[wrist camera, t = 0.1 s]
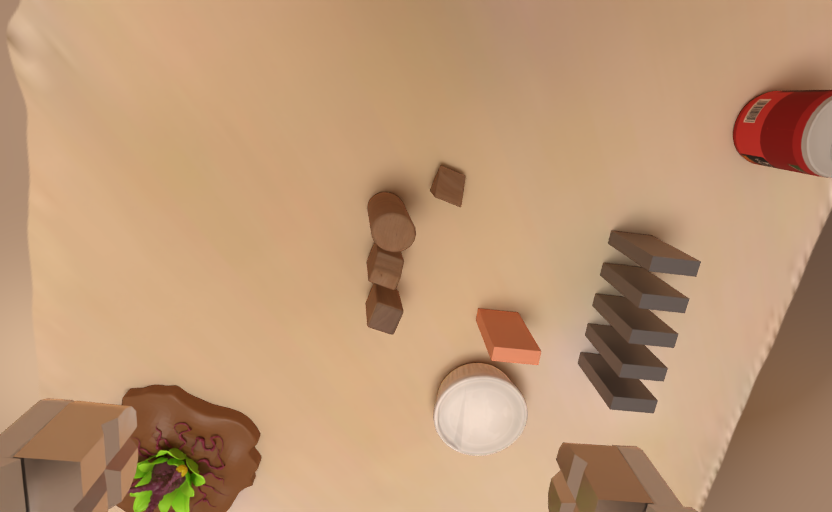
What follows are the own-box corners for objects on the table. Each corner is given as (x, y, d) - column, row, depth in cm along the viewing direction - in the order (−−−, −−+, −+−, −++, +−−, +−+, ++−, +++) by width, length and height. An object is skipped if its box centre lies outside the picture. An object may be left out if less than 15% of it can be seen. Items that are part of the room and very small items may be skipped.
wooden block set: (401, 311, 62) (411, 352, 52) (333, 288, 60) (331, 327, 50) (462, 173, 58) (485, 190, 48) (391, 143, 56) (400, 155, 46)
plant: (78, 481, 67) (20, 553, 57) (131, 363, 63) (78, 418, 52) (222, 534, 71) (192, 612, 60) (282, 427, 66) (261, 491, 56)
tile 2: (603, 262, 61) (642, 293, 52) (642, 267, 62) (689, 298, 52) (600, 275, 62) (638, 308, 52) (639, 279, 62) (684, 313, 53)
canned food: (729, 169, 59) (804, 185, 48) (730, 97, 56) (809, 98, 46) (796, 157, 59) (884, 170, 48) (799, 84, 56) (893, 82, 46)
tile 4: (587, 323, 64) (622, 363, 54) (626, 327, 64) (667, 368, 54) (584, 335, 64) (619, 377, 54) (623, 339, 64) (663, 381, 55)
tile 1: (611, 230, 60) (653, 256, 51) (651, 235, 60) (700, 261, 51) (608, 243, 61) (648, 271, 51) (648, 248, 61) (696, 276, 51)
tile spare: (478, 308, 62) (494, 346, 53) (518, 312, 63) (541, 351, 53) (476, 320, 63) (491, 360, 53) (515, 324, 63) (538, 365, 54)
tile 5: (580, 352, 65) (613, 396, 55) (618, 355, 65) (657, 400, 56) (577, 363, 65) (610, 409, 56) (615, 367, 66) (653, 413, 56)
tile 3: (595, 293, 62) (632, 329, 53) (634, 297, 63) (678, 334, 53) (592, 305, 63) (628, 343, 53) (631, 309, 63) (673, 347, 54)
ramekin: (415, 379, 65) (417, 403, 60) (494, 339, 64) (503, 360, 59) (455, 443, 68) (460, 471, 63) (531, 406, 67) (542, 432, 62)
